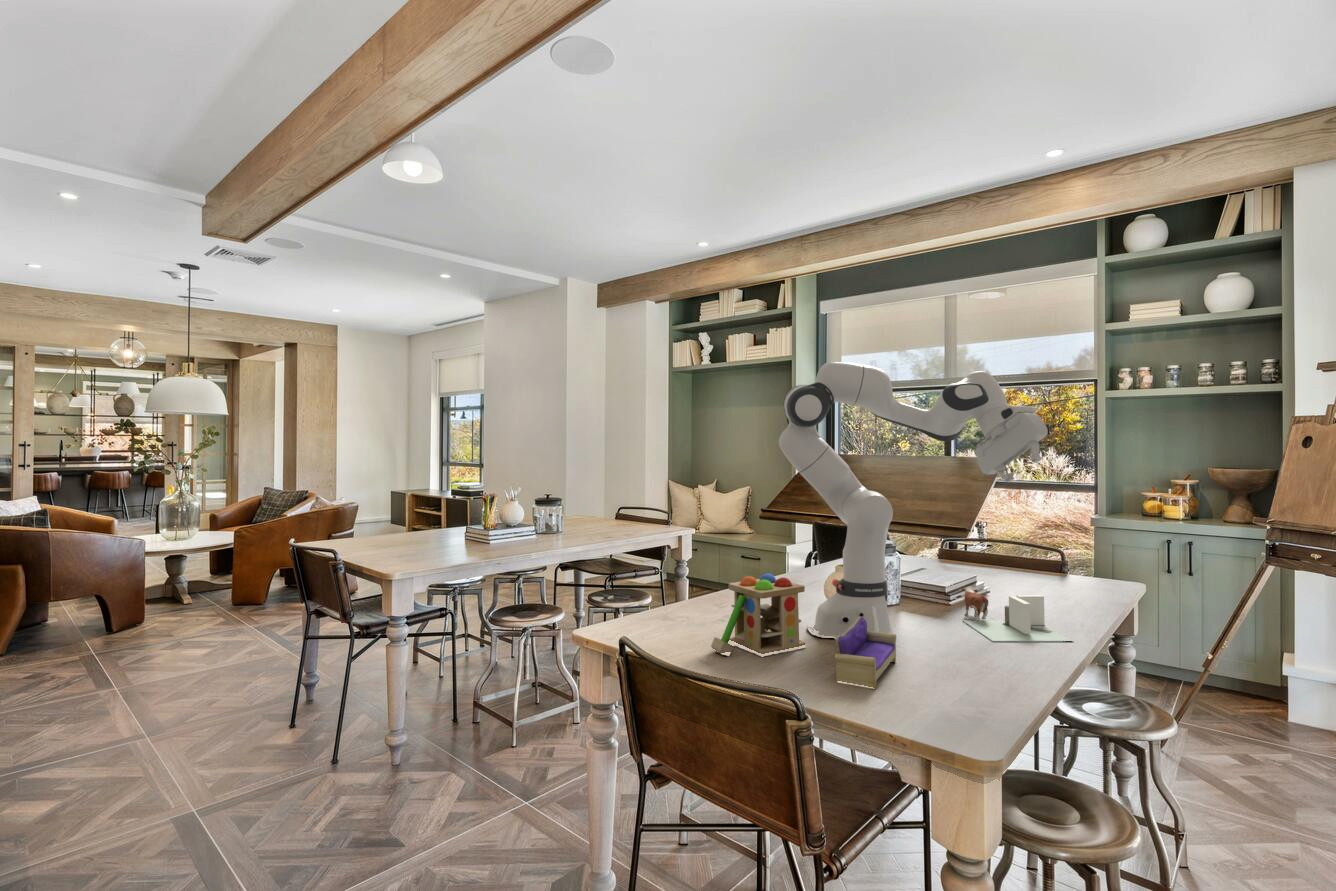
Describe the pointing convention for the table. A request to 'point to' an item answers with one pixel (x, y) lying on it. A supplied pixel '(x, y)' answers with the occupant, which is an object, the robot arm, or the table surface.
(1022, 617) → the white rectangular slab
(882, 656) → the toy sofa
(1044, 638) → the mat
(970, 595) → the bull figurine
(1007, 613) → the fixed rail
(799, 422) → the robot arm
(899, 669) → the table surface
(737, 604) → the pounding bench toy
